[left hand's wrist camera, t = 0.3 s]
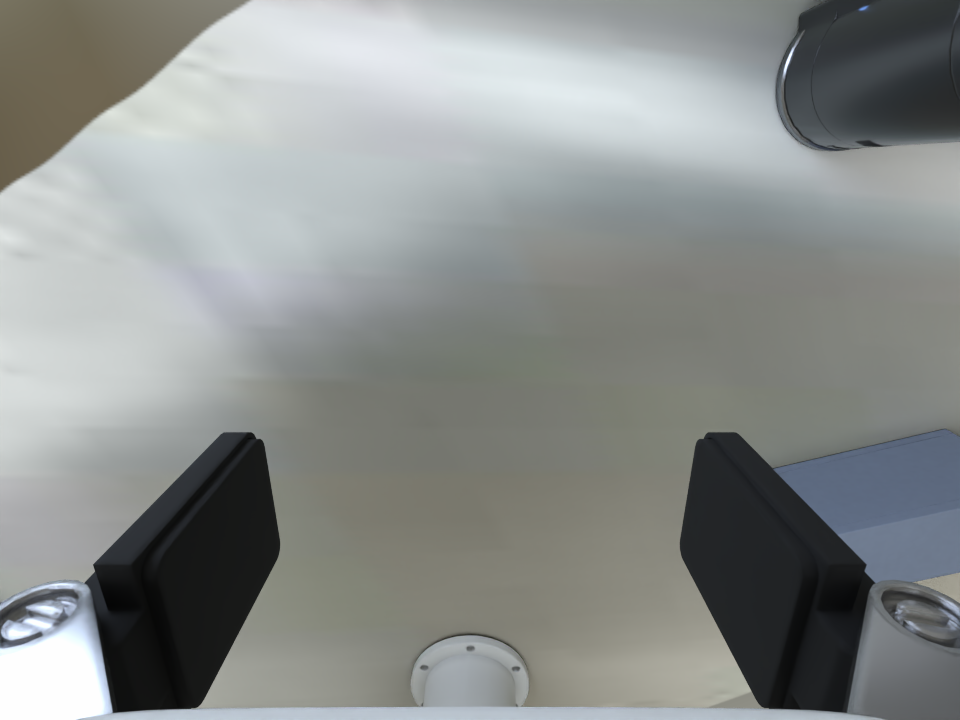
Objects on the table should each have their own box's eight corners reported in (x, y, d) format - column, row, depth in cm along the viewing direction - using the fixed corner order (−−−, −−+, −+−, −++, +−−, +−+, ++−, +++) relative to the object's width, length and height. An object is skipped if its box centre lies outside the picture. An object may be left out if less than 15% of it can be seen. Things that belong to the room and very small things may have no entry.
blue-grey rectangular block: (945, 428, 45) (1053, 487, 37) (943, 486, 47) (1045, 554, 39) (721, 480, 47) (775, 548, 39) (729, 533, 49) (781, 609, 41)
